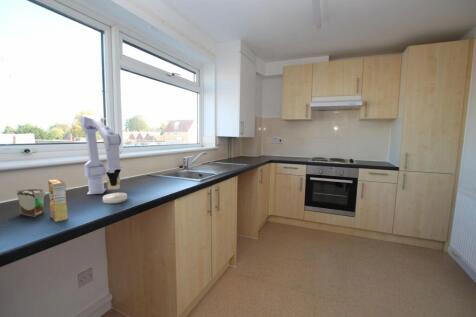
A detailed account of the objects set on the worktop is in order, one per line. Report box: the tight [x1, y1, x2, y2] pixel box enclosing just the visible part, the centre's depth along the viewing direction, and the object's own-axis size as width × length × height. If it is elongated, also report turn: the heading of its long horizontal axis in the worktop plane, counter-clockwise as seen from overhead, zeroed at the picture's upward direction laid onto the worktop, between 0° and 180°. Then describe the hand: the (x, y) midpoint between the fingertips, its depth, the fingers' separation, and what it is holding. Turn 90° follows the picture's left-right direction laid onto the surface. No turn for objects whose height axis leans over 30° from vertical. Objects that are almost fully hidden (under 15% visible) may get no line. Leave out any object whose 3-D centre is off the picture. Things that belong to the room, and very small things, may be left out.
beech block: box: [106, 177, 121, 190], centre depth 114 cm, size 5×5×5 cm
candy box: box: [47, 178, 68, 223], centre depth 91 cm, size 9×4×15 cm, turn 50°
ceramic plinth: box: [102, 192, 128, 205], centre depth 115 cm, size 11×11×2 cm
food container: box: [16, 188, 47, 218], centre depth 96 cm, size 12×6×10 cm, turn 71°
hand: (114, 184), depth 115 cm, fingers closed on beech block, 5 cm apart
